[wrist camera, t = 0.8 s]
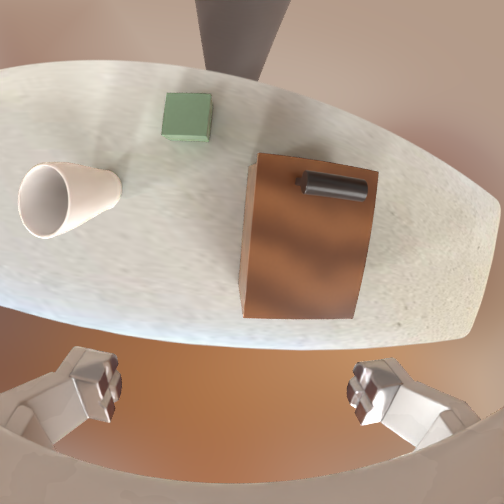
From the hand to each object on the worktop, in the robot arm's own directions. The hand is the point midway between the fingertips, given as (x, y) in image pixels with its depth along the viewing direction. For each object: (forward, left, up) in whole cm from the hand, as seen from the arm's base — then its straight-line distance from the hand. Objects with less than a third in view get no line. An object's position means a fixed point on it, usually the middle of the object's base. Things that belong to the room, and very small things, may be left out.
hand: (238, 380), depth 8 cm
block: (-13, -6, -29) cm, 32 cm away
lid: (0, +8, -20) cm, 21 cm away
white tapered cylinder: (-4, -17, -29) cm, 33 cm away
